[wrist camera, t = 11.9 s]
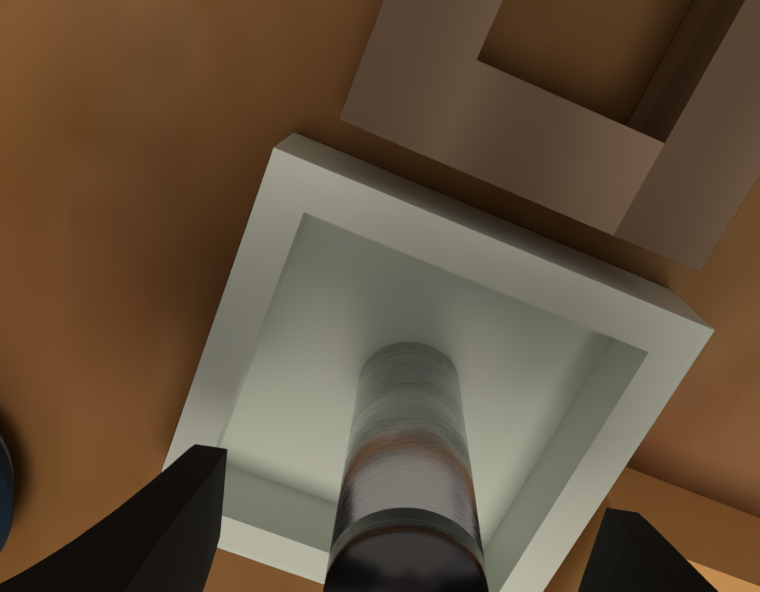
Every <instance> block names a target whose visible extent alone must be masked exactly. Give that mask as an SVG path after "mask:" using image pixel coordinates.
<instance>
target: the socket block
mask: <svg viewBox="0 0 760 592" xmlns="http://www.w3.org/2000/svg"><path fill="white" fill-rule="evenodd" d="M501 3H502V0H384V1H383V3H382V6H381V9H380V11H379V14H378V16H377V19H376V22H375V24H374V27H373V30H372V32H371V35H370V38H369V40H368V43H367V46H366V48H365V51H364V54H363V56H362V59H361V62H360V64H359V67H358V70H357V72H356V75H355V78H354V80H353V83H352V86H351V88H350V91H349V94H348V96H347V99H346V102H345V104H344V107H343V110H342V112H341V115H340V118H339V120H341V121H344V122H346V123H348V124H351V125H353V126H356V127H358V128H360V129H363V130H365V131H367V132H370V133H372V134H374V135H377V136H379V137H381V138H384V139H386V140H389V141H391V142H393V143H396V144H398V145H400V146H403V147H405V148H407V149H410V150H412V151H415V152H417V153H419V154H422V155H424V156H426V157H429V158H431V159H433V160H436V161H438V162H440V163H443V164H445V165H448V166H450V167H452V168H455V169H457V170H459V171H462V172H464V173H466V174H469V175H471V176H474V177H476V178H478V179H481V180H483V181H485V182H488V183H490V184H492V185H495V186H497V187H499V188H502V189H504V190H507V191H509V192H511V193H514V194H516V195H518V196H521V197H523V198H525V199H528V200H530V201H533V202H535V203H537V204H540V205H542V206H544V207H547V208H549V209H551V210H554V211H556V212H558V213H561V214H563V215H566V216H568V217H570V218H573V219H575V220H577V221H580V222H582V223H584V224H587V225H589V226H592V227H594V228H596V229H599V230H601V231H603V232H606V233H608V234H610V235H613V236H615V237H617V238H620V239H622V240H625V241H627V242H629V243H632V244H634V245H636V246H639V247H641V248H643V249H646V250H648V251H650V252H653V253H655V254H658V255H660V256H662V257H665V258H667V259H669V260H672V261H674V262H676V263H679V264H681V265H684V266H686V267H688V268H691V269H693V270H695V271H698V272H699V271H700V270H701V268H702V267H703V265H704V263H705V262H706V260H707V259H708V257H709V255H710V254H711V252H712V251H713V249H714V247H715V246H716V244H717V243H718V241H719V239H720V238H721V236H722V235H723V233H724V231H725V230H726V228H727V227H728V225H729V223H730V222H731V220H732V219H733V217H734V215H735V214H736V212H737V211H738V209H739V207H740V206H741V204H742V203H743V201H744V199H745V198H746V196H747V195H748V193H749V191H750V190H751V188H752V187H753V185H754V183H755V182H756V180H757V179H758V177H759V175H760V0H693V2H692V4H691V6H690V8H689V10H688V11H687V13H686V15H685V17H684V19H683V21H682V23H681V25H680V26H679V28H678V30H677V32H676V34H675V36H674V38H673V39H672V41H671V43H670V45H669V47H668V49H667V51H666V53H665V54H664V56H663V58H662V60H661V62H660V64H659V66H658V68H657V69H656V71H655V73H654V75H653V77H652V79H651V81H650V82H649V84H648V86H647V88H646V90H645V92H644V94H643V96H642V97H641V99H640V101H639V103H638V105H637V107H636V109H635V111H634V112H633V114H632V116H631V118H630V120H629V122H628V124H627V125H626V126H624V125H622V124H620V123H618V122H615V121H613V120H611V119H609V118H606V117H604V116H602V115H600V114H597V113H595V112H593V111H591V110H588V109H586V108H584V107H582V106H579V105H577V104H575V103H573V102H570V101H568V100H566V99H564V98H561V97H559V96H557V95H555V94H552V93H550V92H548V91H546V90H543V89H541V88H539V87H537V86H534V85H532V84H530V83H527V82H525V81H523V80H521V79H518V78H516V77H514V76H512V75H509V74H507V73H505V72H503V71H500V70H498V69H496V68H494V67H491V66H489V65H487V64H485V63H482V62H480V61H478V60H477V58H478V55H479V53H480V51H481V49H482V46H483V44H484V42H485V39H486V37H487V35H488V33H489V30H490V28H491V26H492V23H493V21H494V19H495V17H496V14H497V12H498V10H499V7H500V5H501Z"/></svg>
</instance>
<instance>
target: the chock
mask: <svg viewBox="0 0 760 592" xmlns="http://www.w3.org/2000/svg"><path fill="white" fill-rule="evenodd" d="M606 508H612V509H619V510H625V511H632V512H638V513H639V514H640V515H642V516H643V517H644V518H645V519H646V520H647V521H648V522H649V523H650V524H651V525H652V526H653V527H654V528H655V529H656V530H657V531H658V532H659V533H660V534H661V535H662V536H663V537H664V538H665V539H666V540H667V541H668V542H669V543H670V544H671V545H672V546H673V547H674V548H675V549H676V550H677V551H678V552H679V553H680V554H681V555H682V556H683V557H684V558H685V559H686V560H687V561H688V562H689V563H690V564H691V565H692V566H693V567H694V568H695V569H696V570H697V571H698V572H699V573H700V574H701V575H702V576H703V577H704V578H705V579H706V580H707V581H708V582H709V583H710V584H711V585H712V586H713V587H714V588H715V589H716V590H718V591H719V592H760V518H758V517H756V516H753V515H751V514H748V513H745V512H743V511H740V510H738V509H735V508H732V507H730V506H727V505H725V504H722V503H719V502H717V501H714V500H711V499H709V498H706V497H704V496H701V495H698V494H696V493H693V492H691V491H688V490H685V489H683V488H680V487H678V486H675V485H672V484H670V483H667V482H665V481H662V480H659V479H657V478H654V477H652V476H649V475H646V474H644V473H641V472H639V471H636V470H633V469H631V468H628V467H626V466H625V467H624V469H623V471H622V472H621V474H620V475H619V477H618V478H617V480H616V481H615V483H614V484H613V486H612V487H611V489H610V490H609V492H608V493H607V495H606V496H605V498H604V499H603V501H602V502H601V504H600V506H599V507H598V509H597V510H596V512H595V513H594V515H593V516H592V518H591V519H590V521H589V522H588V524H587V525H586V527H585V528H584V530H583V531H582V533H581V534H580V536H579V538H578V539H577V541H576V542H575V544H574V545H573V547H572V548H571V550H570V551H569V553H568V554H567V556H566V557H565V559H564V560H563V562H562V563H561V565H560V566H559V568H558V569H557V571H556V573H555V574H554V576H553V577H552V579H551V580H550V582H549V583H548V585H547V586H546V588H545V589H544V591H543V592H578V589H579V586H580V583H581V580H582V577H583V574H584V571H585V568H586V565H587V563H588V560H589V557H590V554H591V551H592V548H593V545H594V542H595V539H596V536H597V533H598V530H599V527H600V525H601V522H602V519H603V516H604V513H605V510H606Z"/></svg>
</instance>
